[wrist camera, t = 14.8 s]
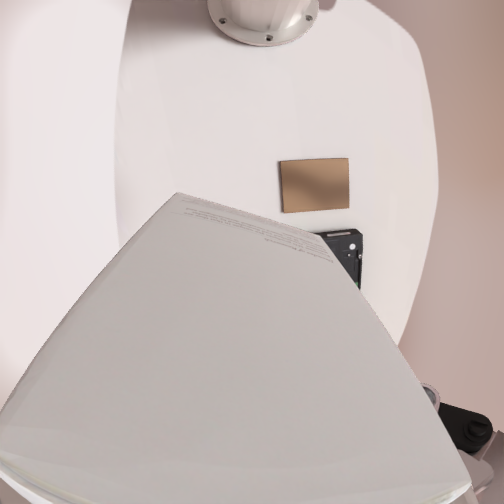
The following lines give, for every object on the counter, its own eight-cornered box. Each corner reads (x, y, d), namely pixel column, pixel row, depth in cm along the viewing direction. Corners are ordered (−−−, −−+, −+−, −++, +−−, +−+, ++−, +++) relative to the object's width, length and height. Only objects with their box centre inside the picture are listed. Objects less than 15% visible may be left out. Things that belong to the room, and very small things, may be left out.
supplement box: (174, 187, 13) (-47, 439, 1) (324, 234, 14) (489, 482, 2) (146, 315, 15) (70, 536, 4) (270, 348, 16) (302, 566, 5)
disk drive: (275, 236, 35) (284, 333, 41) (278, 244, 33) (287, 345, 38) (355, 225, 35) (352, 321, 41) (363, 232, 33) (358, 332, 38)
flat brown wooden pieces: (280, 161, 31) (280, 161, 31) (347, 158, 31) (348, 158, 31) (290, 405, 47) (290, 406, 47) (333, 398, 47) (333, 399, 47)
